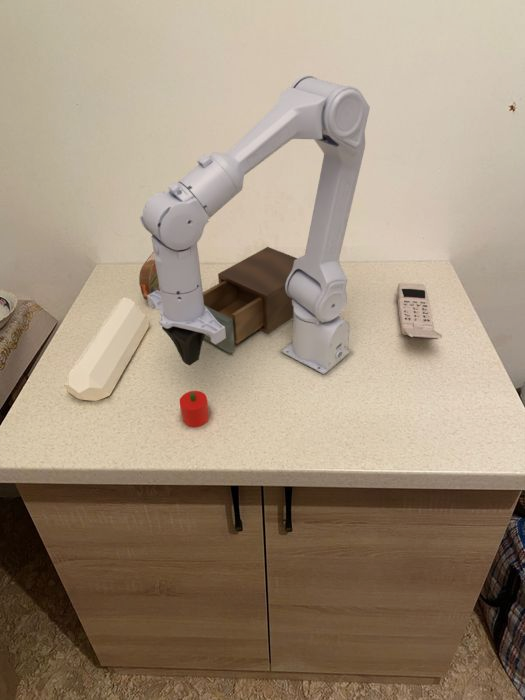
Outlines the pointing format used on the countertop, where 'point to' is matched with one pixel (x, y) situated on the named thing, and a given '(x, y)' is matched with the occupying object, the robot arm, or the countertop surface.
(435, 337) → the mobile phone
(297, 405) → the countertop surface
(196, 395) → the pepper
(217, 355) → the countertop surface
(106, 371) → the crystal
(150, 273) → the tin
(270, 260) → the cabinet
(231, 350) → the drawer
